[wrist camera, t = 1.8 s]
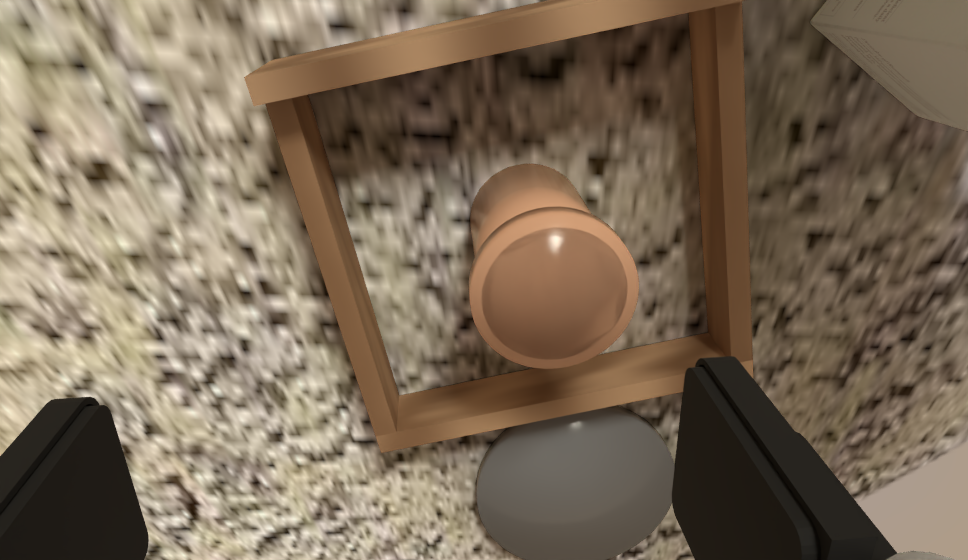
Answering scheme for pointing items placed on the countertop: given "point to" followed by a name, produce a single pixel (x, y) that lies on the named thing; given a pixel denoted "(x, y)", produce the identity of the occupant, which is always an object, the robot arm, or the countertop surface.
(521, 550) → the slate coaster
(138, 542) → the robot arm
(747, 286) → the brown wooden square frame
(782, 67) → the countertop surface
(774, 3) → the countertop surface
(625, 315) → the terracotta pot
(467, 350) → the countertop surface
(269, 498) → the countertop surface
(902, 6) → the supplement box
